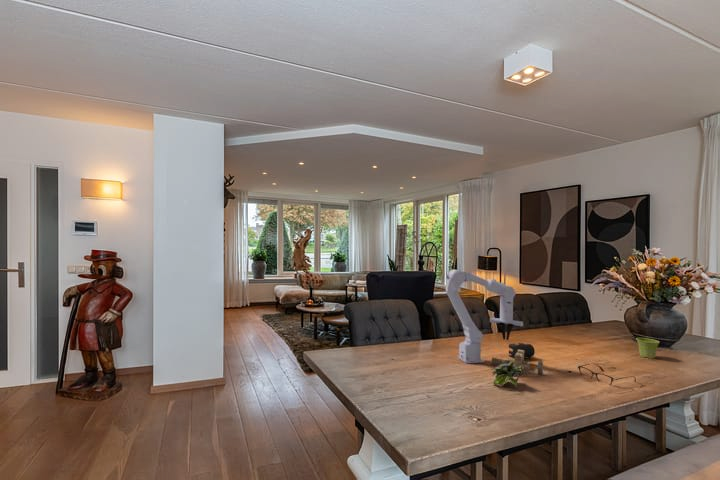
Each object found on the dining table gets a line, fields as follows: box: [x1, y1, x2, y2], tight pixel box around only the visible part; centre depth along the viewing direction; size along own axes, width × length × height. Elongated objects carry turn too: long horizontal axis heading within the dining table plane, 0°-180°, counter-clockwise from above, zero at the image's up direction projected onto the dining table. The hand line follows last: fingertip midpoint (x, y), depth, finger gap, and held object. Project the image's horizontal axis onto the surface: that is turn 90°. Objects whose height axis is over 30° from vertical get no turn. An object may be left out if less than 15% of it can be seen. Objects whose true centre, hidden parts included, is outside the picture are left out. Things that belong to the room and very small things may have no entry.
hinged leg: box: [514, 349, 525, 364], centre depth 159 cm, size 14×3×6 cm, turn 149°
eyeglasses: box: [577, 363, 637, 386], centre depth 146 cm, size 16×16×4 cm
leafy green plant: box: [491, 359, 524, 390], centre depth 134 cm, size 11×11×12 cm
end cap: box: [508, 342, 535, 360], centre depth 170 cm, size 10×7×7 cm
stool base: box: [490, 357, 548, 378], centre depth 154 cm, size 22×22×6 cm
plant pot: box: [635, 337, 660, 360], centre depth 178 cm, size 9×9×9 cm
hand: (505, 339), depth 164 cm, fingers closed
